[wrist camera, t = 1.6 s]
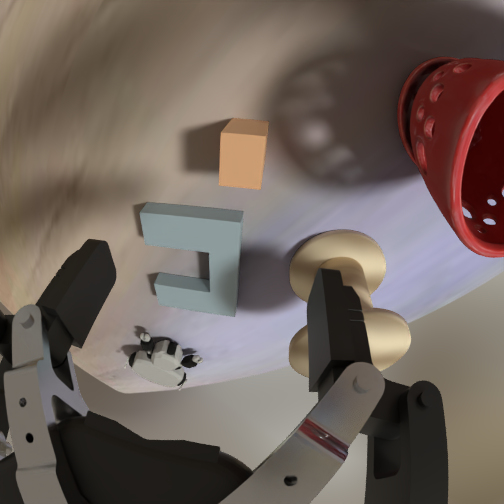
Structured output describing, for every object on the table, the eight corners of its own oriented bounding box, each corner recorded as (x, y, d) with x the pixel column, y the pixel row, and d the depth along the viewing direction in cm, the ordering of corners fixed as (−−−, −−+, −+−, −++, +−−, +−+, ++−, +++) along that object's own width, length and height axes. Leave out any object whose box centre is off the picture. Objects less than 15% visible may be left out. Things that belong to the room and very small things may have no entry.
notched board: (147, 202, 27) (139, 212, 25) (243, 211, 26) (240, 222, 25) (163, 293, 36) (159, 304, 34) (237, 304, 35) (235, 316, 34)
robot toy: (143, 317, 42) (128, 354, 50) (135, 339, 38) (122, 371, 46) (210, 346, 45) (182, 376, 53) (206, 368, 41) (178, 394, 49)
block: (232, 117, 21) (220, 132, 17) (269, 121, 21) (266, 136, 17) (230, 161, 23) (219, 185, 19) (264, 164, 23) (260, 189, 19)
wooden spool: (299, 222, 27) (304, 312, 18) (397, 237, 26) (433, 320, 18) (282, 297, 34) (279, 378, 25) (364, 304, 33) (378, 380, 25)
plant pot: (384, 33, 14) (473, 24, 5) (497, 78, 13) (586, 117, 4) (370, 173, 22) (423, 261, 13) (474, 191, 21) (537, 265, 12)
